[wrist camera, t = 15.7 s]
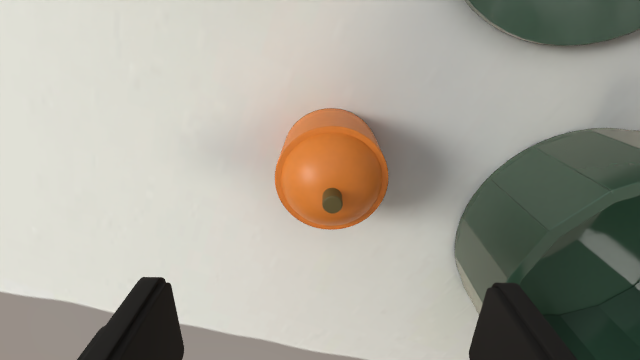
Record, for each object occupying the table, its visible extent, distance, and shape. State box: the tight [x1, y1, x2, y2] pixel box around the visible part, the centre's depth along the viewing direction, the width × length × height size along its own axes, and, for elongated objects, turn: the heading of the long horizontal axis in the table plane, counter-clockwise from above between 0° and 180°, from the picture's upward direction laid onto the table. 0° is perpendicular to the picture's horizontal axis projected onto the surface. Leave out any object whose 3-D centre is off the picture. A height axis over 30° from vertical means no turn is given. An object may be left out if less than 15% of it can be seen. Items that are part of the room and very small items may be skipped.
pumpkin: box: [275, 108, 388, 229], centre depth 19 cm, size 6×6×7 cm
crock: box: [455, 128, 640, 360], centre depth 22 cm, size 17×22×7 cm
